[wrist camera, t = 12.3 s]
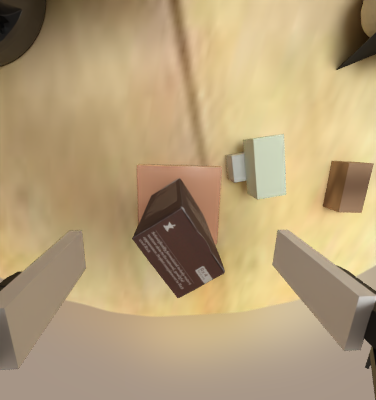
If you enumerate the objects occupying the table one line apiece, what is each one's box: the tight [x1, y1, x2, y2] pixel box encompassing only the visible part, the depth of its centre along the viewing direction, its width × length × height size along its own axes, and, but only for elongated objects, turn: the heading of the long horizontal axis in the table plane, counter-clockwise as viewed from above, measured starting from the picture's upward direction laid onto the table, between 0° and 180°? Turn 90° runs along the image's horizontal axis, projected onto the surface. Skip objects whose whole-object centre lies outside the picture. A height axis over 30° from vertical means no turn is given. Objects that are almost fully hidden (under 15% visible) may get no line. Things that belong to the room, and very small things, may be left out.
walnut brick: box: [323, 161, 373, 213], centre depth 27 cm, size 6×3×3 cm, turn 178°
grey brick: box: [226, 147, 286, 183], centre depth 25 cm, size 6×3×3 cm, turn 99°
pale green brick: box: [243, 134, 286, 199], centre depth 22 cm, size 6×3×3 cm, turn 9°
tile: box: [137, 164, 222, 244], centre depth 27 cm, size 10×10×1 cm
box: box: [132, 178, 225, 298], centre depth 20 cm, size 6×4×12 cm
